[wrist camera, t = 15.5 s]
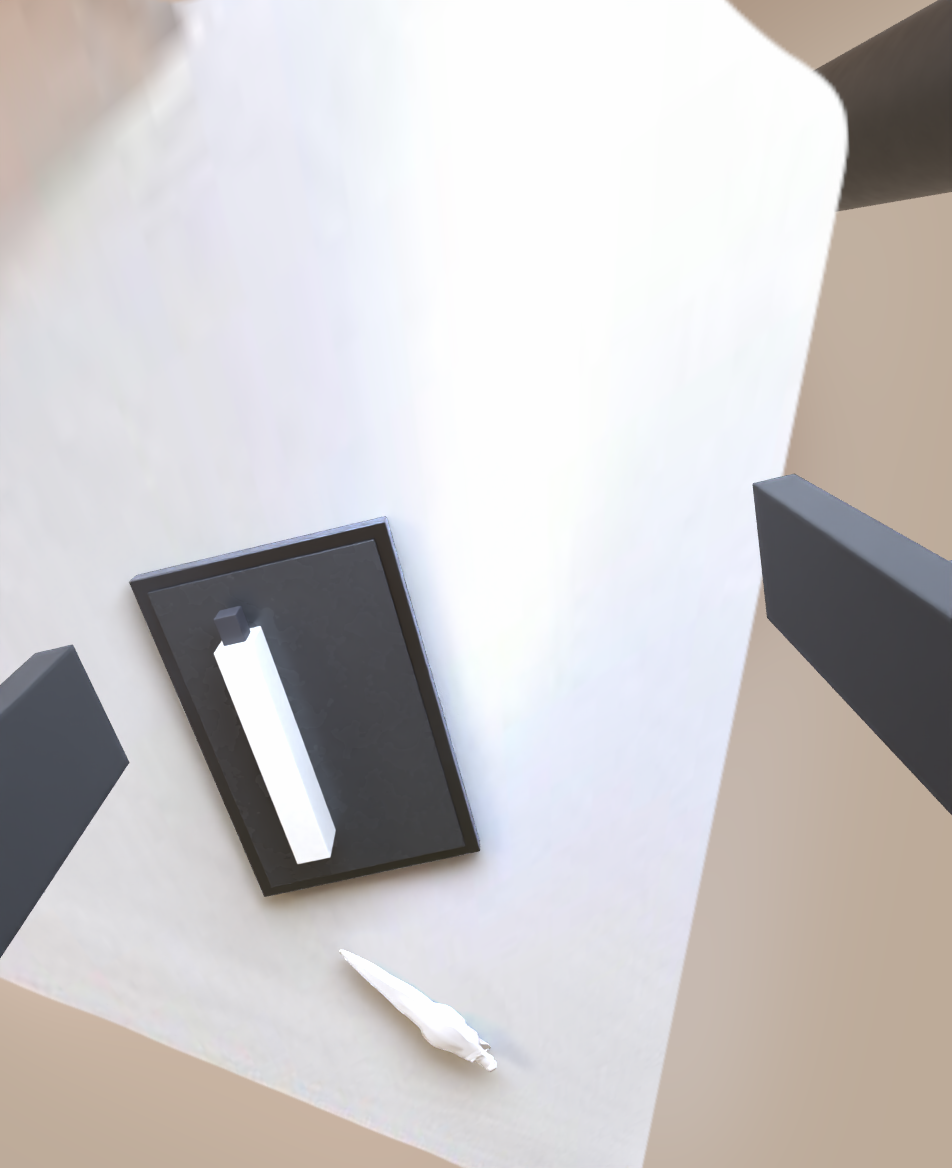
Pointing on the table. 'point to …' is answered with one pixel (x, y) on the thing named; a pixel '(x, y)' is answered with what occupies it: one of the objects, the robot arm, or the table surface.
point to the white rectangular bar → (273, 736)
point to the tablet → (320, 699)
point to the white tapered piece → (427, 1014)
